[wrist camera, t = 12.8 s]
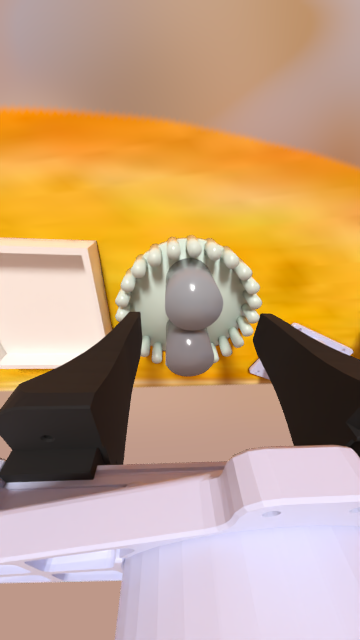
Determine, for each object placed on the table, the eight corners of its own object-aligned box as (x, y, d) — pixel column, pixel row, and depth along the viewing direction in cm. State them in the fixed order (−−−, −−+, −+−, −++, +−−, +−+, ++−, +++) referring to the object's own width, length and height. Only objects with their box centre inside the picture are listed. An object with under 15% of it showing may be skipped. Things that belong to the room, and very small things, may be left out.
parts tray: (96, 240, 16) (87, 248, 14) (116, 353, 23) (111, 368, 21) (-61, 235, 15) (-92, 242, 13) (7, 353, 22) (-7, 368, 20)
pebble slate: (220, 270, 17) (234, 294, 14) (197, 307, 19) (204, 337, 16) (178, 249, 16) (181, 269, 12) (158, 290, 18) (155, 318, 14)
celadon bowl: (267, 237, 17) (282, 245, 14) (236, 351, 23) (243, 368, 21) (112, 231, 16) (103, 239, 14) (127, 351, 23) (123, 368, 21)
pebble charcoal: (212, 319, 20) (223, 350, 16) (194, 347, 22) (199, 380, 18) (176, 304, 19) (178, 334, 15) (159, 335, 21) (158, 369, 17)
